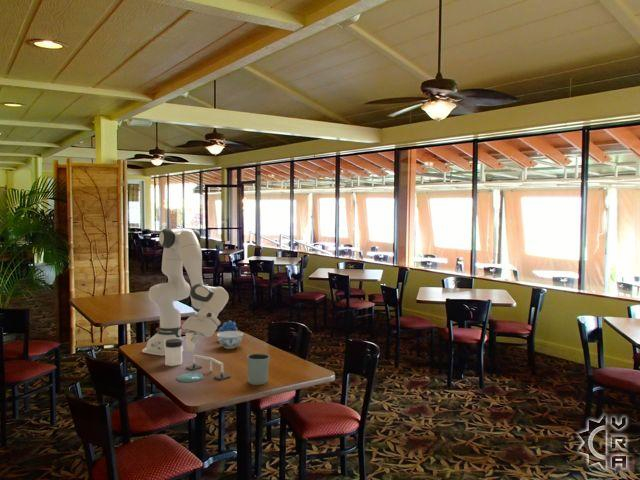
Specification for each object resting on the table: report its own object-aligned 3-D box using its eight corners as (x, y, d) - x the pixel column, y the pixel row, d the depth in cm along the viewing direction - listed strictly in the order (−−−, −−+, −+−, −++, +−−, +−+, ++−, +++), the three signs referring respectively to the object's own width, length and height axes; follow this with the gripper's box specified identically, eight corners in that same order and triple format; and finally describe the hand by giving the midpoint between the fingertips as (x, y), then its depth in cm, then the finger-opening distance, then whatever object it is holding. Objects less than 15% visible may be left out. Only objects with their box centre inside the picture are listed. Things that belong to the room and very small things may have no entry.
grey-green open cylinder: (243, 380, 233) (243, 355, 233) (262, 376, 239) (262, 351, 239) (253, 386, 225) (254, 360, 225) (273, 382, 231) (273, 356, 231)
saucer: (172, 380, 232) (172, 379, 232) (185, 373, 244) (185, 371, 244) (195, 383, 229) (195, 381, 229) (207, 375, 241) (207, 374, 241)
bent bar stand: (185, 368, 251) (185, 354, 250) (195, 366, 255) (195, 352, 255) (220, 380, 233) (220, 365, 233) (230, 377, 238) (230, 362, 237)
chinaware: (247, 348, 290) (247, 335, 289) (222, 351, 282) (222, 338, 281) (236, 342, 302) (236, 330, 302) (213, 345, 294) (213, 332, 294)
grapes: (235, 337, 315) (235, 318, 315) (238, 339, 309) (238, 320, 309) (216, 339, 310) (216, 320, 310) (219, 341, 304) (219, 322, 304)
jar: (167, 361, 263) (167, 338, 262) (183, 361, 264) (183, 338, 263) (163, 366, 254) (163, 343, 253) (180, 366, 255) (180, 342, 254)
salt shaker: (184, 352, 234) (184, 332, 234) (188, 349, 238) (188, 331, 238) (192, 352, 233) (191, 333, 233) (196, 350, 237) (196, 331, 237)
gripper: (189, 310, 247) (172, 333, 240) (215, 315, 234) (198, 340, 227) (196, 317, 251) (180, 340, 244) (223, 323, 237) (206, 348, 230)
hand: (189, 340), depth 235 cm, fingers closed on salt shaker, 4 cm apart
